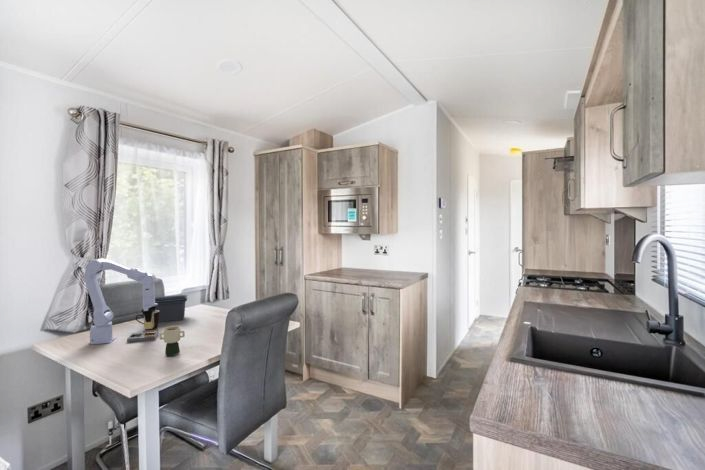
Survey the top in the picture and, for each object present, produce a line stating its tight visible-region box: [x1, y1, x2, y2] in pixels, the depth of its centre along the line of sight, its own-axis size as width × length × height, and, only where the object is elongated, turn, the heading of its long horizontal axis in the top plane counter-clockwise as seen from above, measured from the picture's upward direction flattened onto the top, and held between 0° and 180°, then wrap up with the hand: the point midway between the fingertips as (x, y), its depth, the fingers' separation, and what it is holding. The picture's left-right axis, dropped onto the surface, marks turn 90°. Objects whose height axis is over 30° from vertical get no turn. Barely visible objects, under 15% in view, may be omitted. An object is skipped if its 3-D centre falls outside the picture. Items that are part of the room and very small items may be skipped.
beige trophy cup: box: [158, 325, 186, 357], centre depth 170 cm, size 11×7×13 cm, turn 110°
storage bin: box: [155, 294, 188, 323], centre depth 228 cm, size 21×16×14 cm
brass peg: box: [143, 310, 154, 330], centre depth 192 cm, size 4×4×9 cm
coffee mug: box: [135, 310, 159, 331], centre depth 210 cm, size 12×9×10 cm
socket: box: [126, 331, 159, 343], centre depth 192 cm, size 13×9×2 cm
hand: (149, 320), depth 193 cm, fingers closed on brass peg, 4 cm apart
